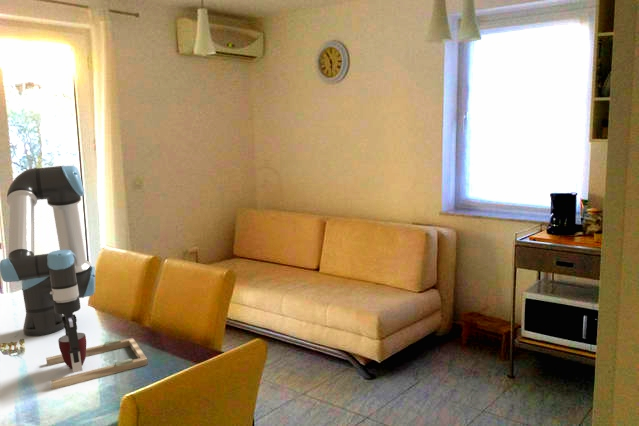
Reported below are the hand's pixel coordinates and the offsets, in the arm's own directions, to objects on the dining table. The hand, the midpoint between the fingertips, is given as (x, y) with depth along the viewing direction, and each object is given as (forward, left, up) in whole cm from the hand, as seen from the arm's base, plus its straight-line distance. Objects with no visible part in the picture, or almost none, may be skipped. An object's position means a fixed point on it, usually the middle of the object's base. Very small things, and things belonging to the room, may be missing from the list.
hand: (75, 365), depth 181 cm
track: (0, +6, -1) cm, 6 cm away
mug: (0, 0, -1) cm, 1 cm away
